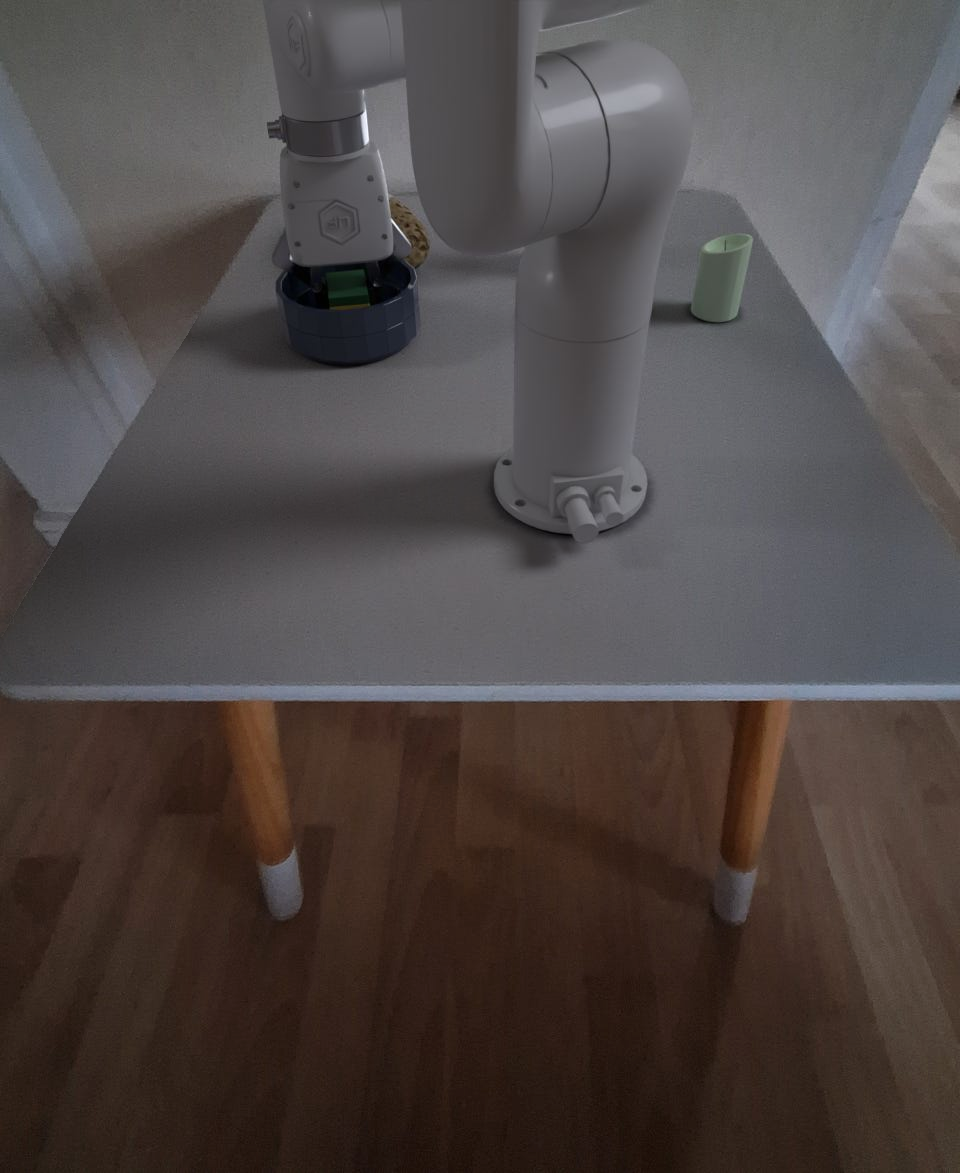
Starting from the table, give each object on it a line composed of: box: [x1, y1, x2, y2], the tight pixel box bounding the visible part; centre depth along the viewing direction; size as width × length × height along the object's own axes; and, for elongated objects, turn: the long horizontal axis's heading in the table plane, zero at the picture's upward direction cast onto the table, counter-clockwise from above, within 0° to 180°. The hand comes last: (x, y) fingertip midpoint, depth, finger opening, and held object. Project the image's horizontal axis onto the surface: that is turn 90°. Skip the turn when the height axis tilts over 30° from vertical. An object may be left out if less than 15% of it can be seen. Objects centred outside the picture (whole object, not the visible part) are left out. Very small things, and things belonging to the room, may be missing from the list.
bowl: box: [275, 260, 421, 366], centre depth 87 cm, size 14×14×6 cm
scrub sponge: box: [326, 270, 370, 310], centre depth 88 cm, size 6×4×4 cm, turn 10°
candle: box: [690, 233, 754, 323], centre depth 89 cm, size 5×5×8 cm
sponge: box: [388, 192, 431, 270], centre depth 102 cm, size 13×8×20 cm
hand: (351, 318), depth 89 cm, fingers closed on scrub sponge, 4 cm apart
